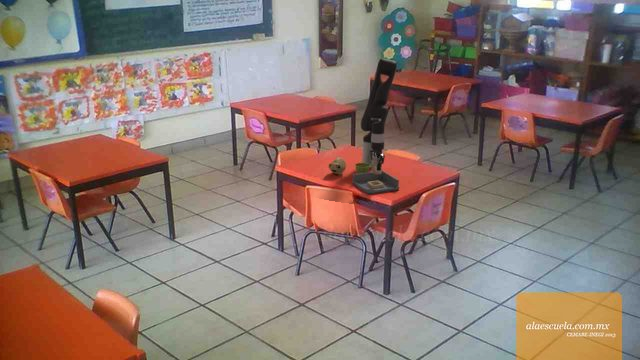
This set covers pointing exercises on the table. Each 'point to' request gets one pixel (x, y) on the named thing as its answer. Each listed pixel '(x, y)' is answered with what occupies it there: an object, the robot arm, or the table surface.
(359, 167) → the plant pot
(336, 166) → the toy pig
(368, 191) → the walled box
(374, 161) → the connector
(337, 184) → the table surface
